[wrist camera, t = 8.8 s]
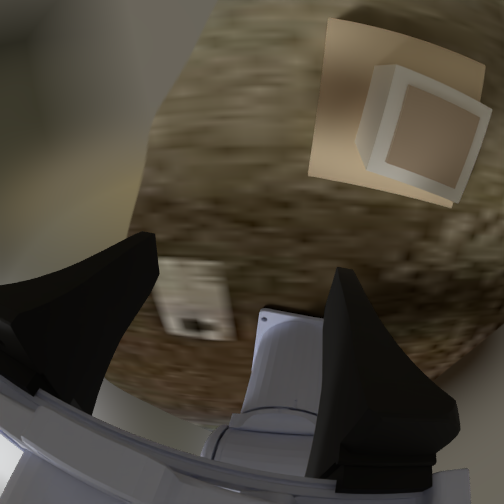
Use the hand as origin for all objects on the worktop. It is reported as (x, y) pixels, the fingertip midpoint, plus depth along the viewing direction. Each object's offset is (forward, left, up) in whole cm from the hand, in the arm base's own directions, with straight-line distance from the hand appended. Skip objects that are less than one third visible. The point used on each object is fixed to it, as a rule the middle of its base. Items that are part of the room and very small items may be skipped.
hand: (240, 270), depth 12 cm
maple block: (+6, -6, -10) cm, 14 cm away
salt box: (+6, -7, -8) cm, 12 cm away
